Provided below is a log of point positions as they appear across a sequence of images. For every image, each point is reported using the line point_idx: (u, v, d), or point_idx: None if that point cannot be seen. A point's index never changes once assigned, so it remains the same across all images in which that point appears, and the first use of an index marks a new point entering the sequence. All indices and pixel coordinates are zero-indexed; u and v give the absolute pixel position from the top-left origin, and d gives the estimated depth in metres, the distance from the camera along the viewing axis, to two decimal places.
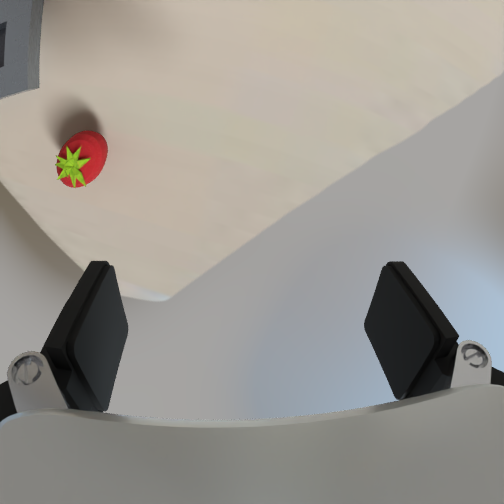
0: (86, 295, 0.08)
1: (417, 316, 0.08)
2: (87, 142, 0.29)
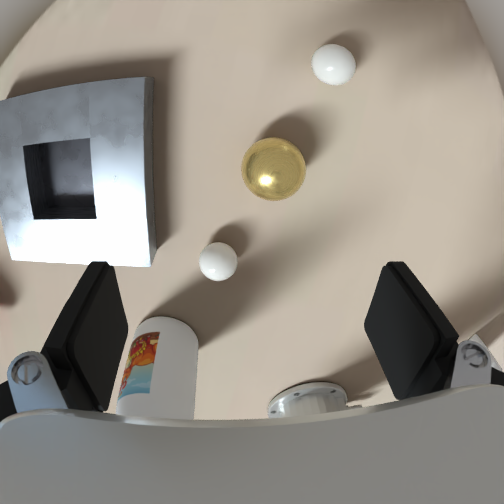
0: (86, 295, 0.08)
1: (417, 316, 0.08)
2: None
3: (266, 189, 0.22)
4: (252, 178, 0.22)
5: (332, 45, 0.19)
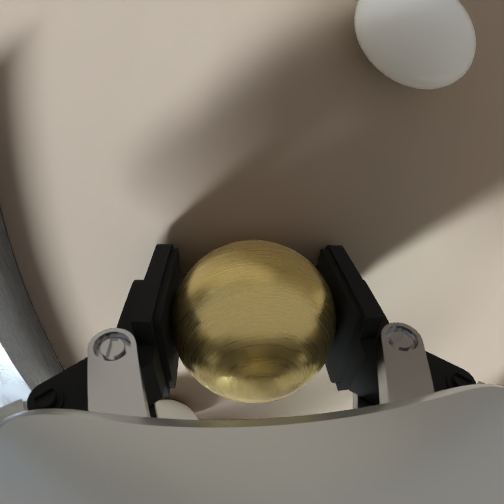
0: (162, 274, 0.09)
1: (343, 296, 0.09)
2: None
3: (232, 399, 0.08)
4: (194, 374, 0.08)
5: None
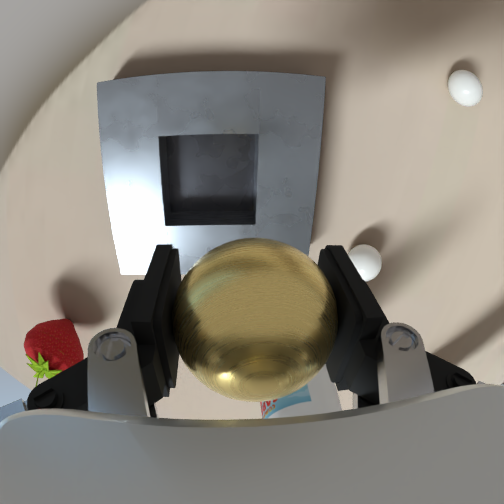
0: (162, 274, 0.09)
1: (343, 296, 0.09)
2: None
3: (233, 397, 0.08)
4: (195, 372, 0.08)
5: (468, 72, 0.18)
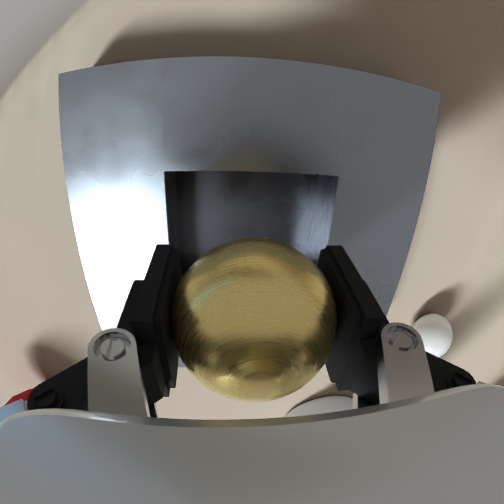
0: (162, 274, 0.09)
1: (343, 296, 0.09)
2: None
3: (232, 398, 0.08)
4: (193, 372, 0.08)
5: None
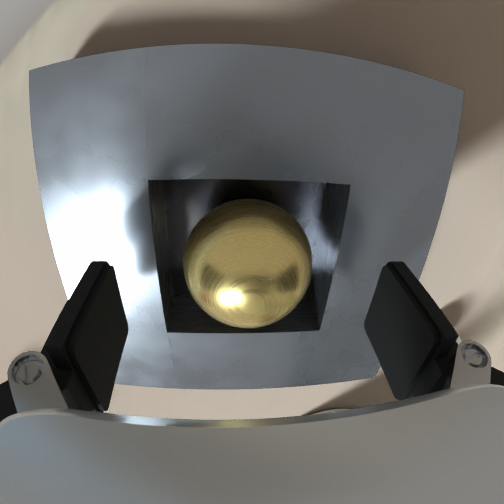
0: (86, 295, 0.08)
1: (417, 316, 0.08)
2: None
3: (229, 320, 0.11)
4: (200, 298, 0.11)
5: None
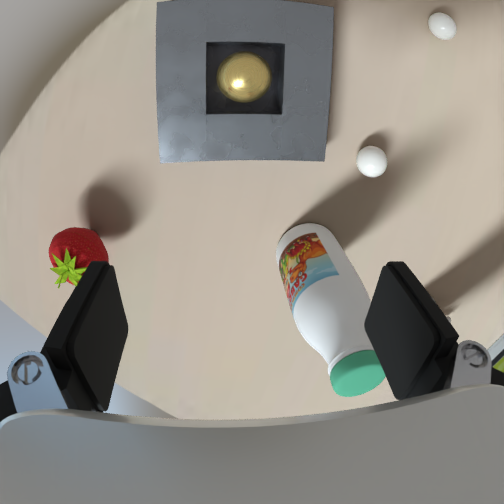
0: (86, 295, 0.08)
1: (417, 316, 0.08)
2: None
3: (236, 87, 0.24)
4: (224, 80, 0.24)
5: (443, 13, 0.21)
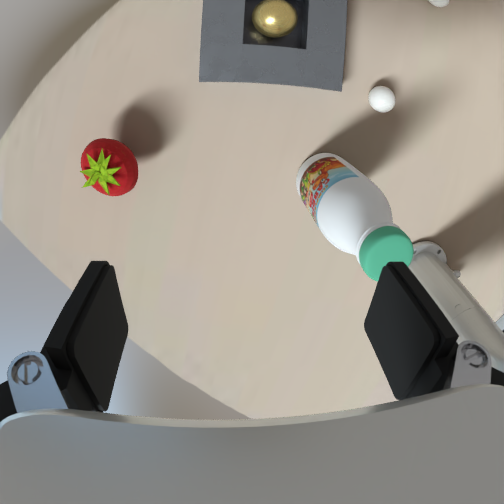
0: (86, 295, 0.08)
1: (417, 316, 0.08)
2: (125, 185, 0.31)
3: (268, 20, 0.25)
4: (258, 15, 0.25)
5: None
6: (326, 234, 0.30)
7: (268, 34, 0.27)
